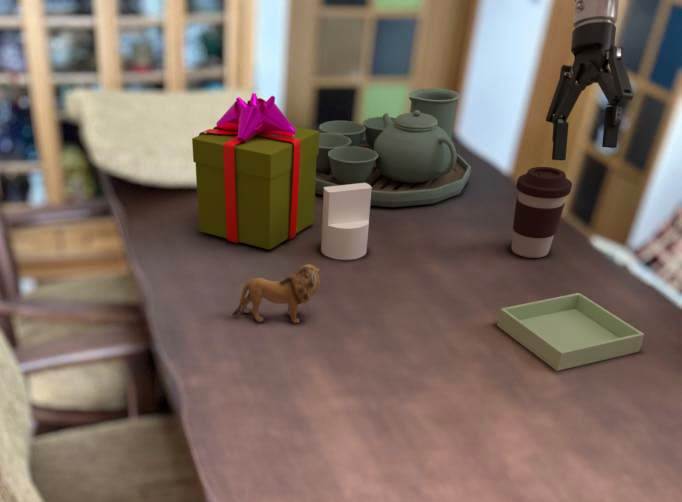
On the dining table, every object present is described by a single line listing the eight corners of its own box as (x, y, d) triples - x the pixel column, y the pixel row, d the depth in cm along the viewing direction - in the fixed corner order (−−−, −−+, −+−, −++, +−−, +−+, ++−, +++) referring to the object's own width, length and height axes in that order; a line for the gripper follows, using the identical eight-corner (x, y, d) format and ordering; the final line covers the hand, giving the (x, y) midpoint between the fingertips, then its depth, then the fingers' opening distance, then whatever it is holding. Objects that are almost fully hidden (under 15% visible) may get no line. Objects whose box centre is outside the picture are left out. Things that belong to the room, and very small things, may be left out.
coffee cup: (566, 254, 161) (585, 174, 151) (531, 266, 157) (549, 184, 147) (528, 237, 167) (544, 160, 157) (493, 248, 163) (508, 169, 153)
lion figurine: (316, 309, 142) (318, 258, 136) (319, 323, 139) (322, 272, 133) (231, 311, 142) (230, 260, 136) (232, 325, 138) (231, 273, 132)
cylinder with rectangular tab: (356, 239, 166) (360, 177, 158) (373, 256, 159) (379, 193, 152) (314, 244, 164) (316, 182, 156) (330, 262, 157) (334, 198, 149)
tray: (638, 351, 132) (644, 334, 130) (556, 371, 128) (561, 353, 125) (574, 309, 143) (579, 292, 141) (496, 325, 139) (500, 308, 137)
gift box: (230, 206, 179) (226, 77, 162) (320, 220, 173) (326, 88, 157) (188, 240, 165) (180, 103, 148) (286, 256, 159) (288, 115, 142)
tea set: (336, 144, 213) (340, 73, 202) (487, 168, 200) (500, 92, 189) (267, 191, 186) (268, 111, 175) (437, 222, 173) (449, 138, 162)
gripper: (533, 44, 160) (524, 163, 165) (630, 0, 137) (616, 139, 143) (564, 48, 162) (554, 165, 168) (664, 6, 140) (649, 142, 146)
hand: (583, 154), depth 155 cm, fingers open, 13 cm apart
